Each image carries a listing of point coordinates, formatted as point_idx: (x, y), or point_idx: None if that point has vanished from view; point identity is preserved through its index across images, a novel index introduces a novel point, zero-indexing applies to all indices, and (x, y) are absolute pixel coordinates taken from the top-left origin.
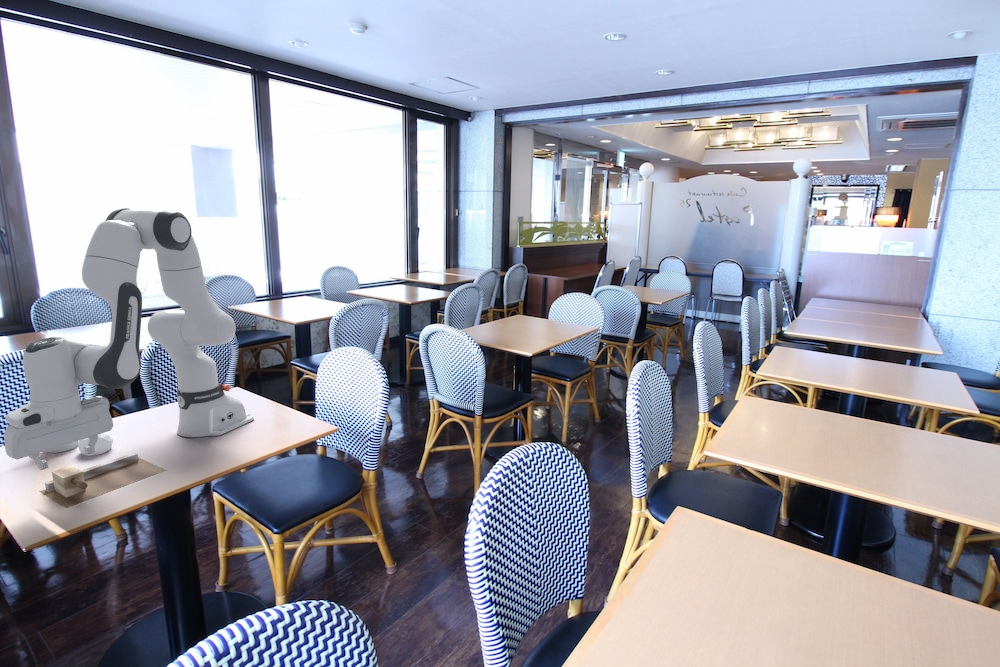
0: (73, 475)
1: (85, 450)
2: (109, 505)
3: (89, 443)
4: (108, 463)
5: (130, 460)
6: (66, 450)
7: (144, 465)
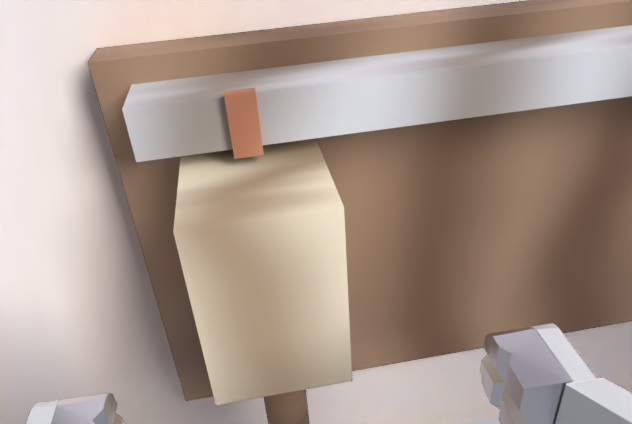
0: (285, 387)
1: (502, 361)
2: (344, 403)
3: (587, 420)
4: (590, 95)
5: None
6: None
7: None
